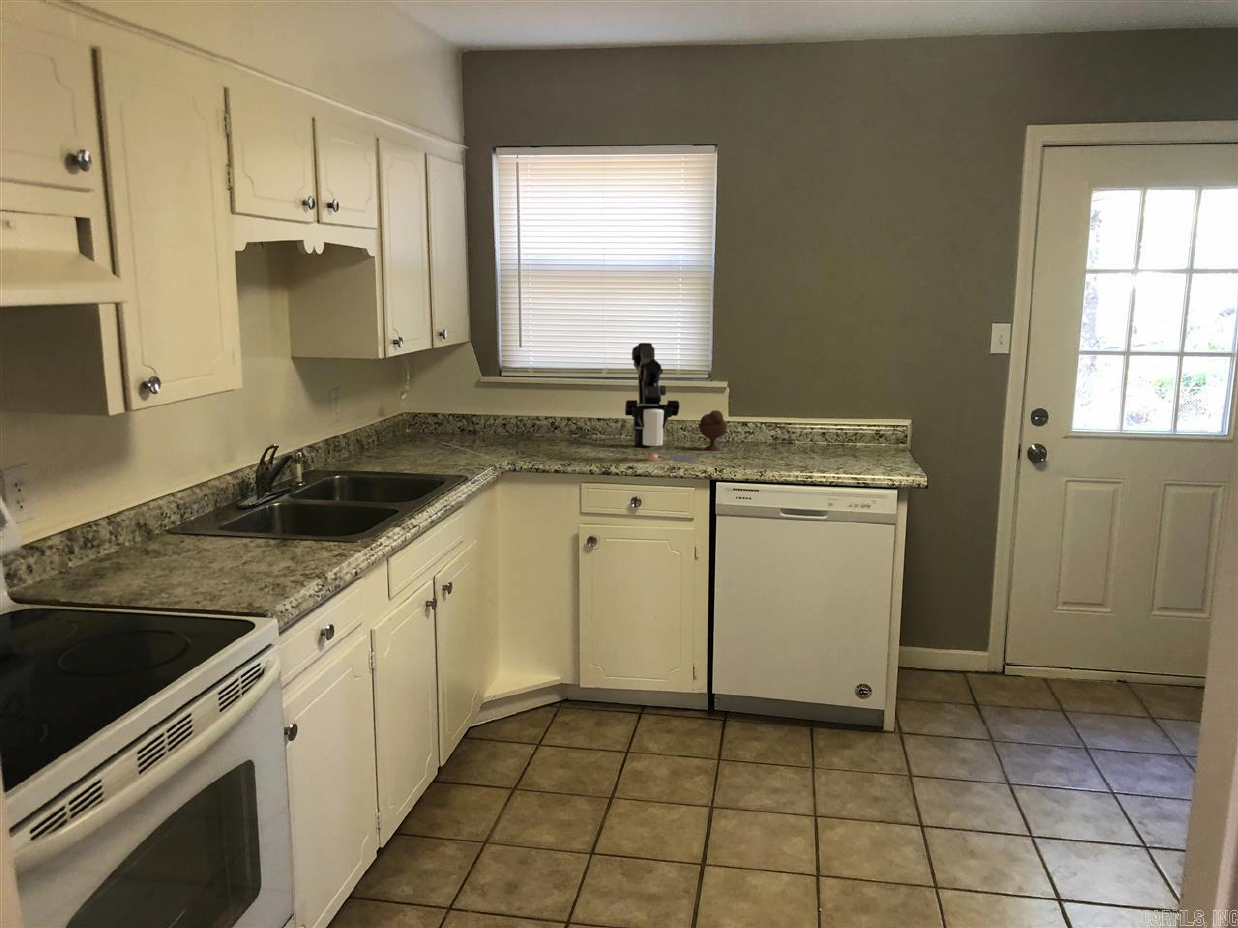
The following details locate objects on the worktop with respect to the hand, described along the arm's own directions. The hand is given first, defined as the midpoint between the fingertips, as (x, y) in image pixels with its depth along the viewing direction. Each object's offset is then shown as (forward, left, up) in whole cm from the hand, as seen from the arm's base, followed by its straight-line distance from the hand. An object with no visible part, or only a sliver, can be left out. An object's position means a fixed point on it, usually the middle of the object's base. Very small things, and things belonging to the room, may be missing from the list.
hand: (653, 427), depth 324 cm
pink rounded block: (-1, +1, -12) cm, 12 cm away
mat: (+6, +11, -12) cm, 17 cm away
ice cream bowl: (+5, +36, -12) cm, 38 cm away
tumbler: (-1, +1, -6) cm, 6 cm away
